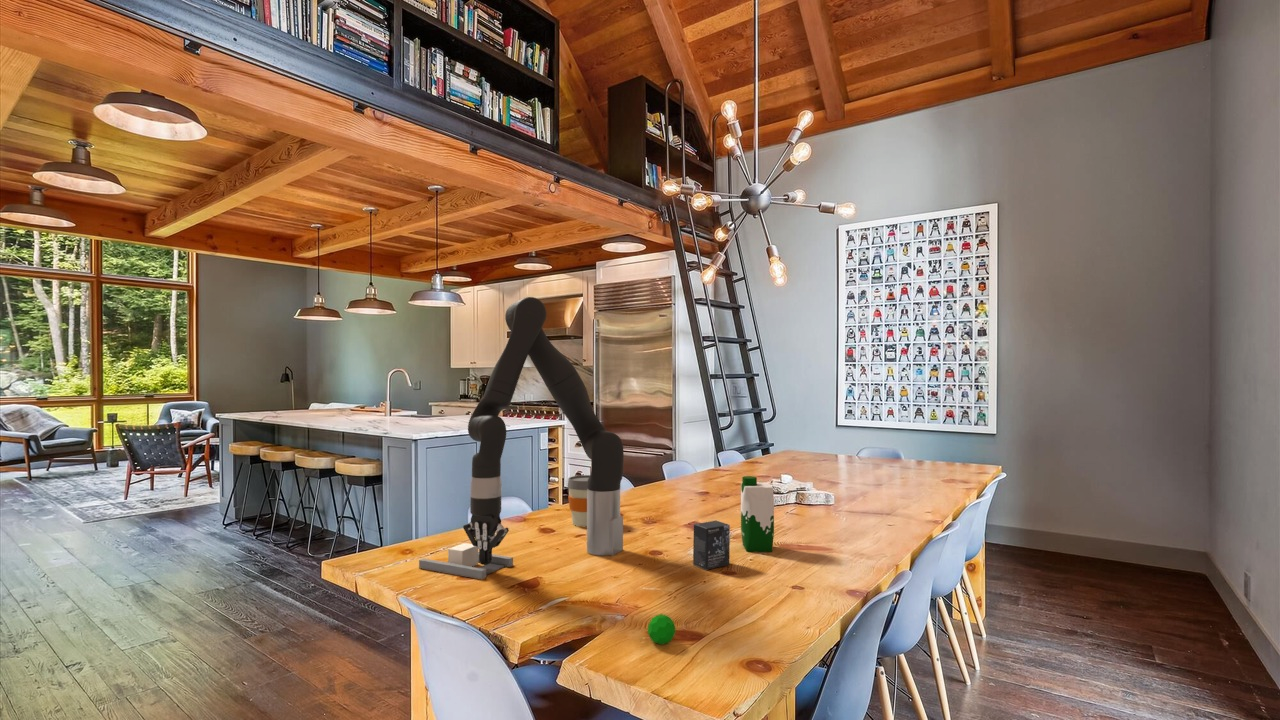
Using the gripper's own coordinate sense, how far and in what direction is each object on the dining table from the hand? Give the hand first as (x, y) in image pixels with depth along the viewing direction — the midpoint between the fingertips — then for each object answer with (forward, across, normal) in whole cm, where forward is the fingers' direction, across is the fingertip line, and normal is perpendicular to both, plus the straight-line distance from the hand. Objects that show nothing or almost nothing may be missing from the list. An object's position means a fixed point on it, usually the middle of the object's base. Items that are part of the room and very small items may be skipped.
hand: (485, 563), depth 150 cm
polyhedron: (+2, -56, +19) cm, 59 cm away
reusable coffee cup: (+2, +1, -52) cm, 52 cm away
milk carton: (+2, -57, -48) cm, 75 cm away
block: (+2, +7, 0) cm, 7 cm away
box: (+2, -50, -28) cm, 57 cm away
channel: (+2, +6, 0) cm, 6 cm away
